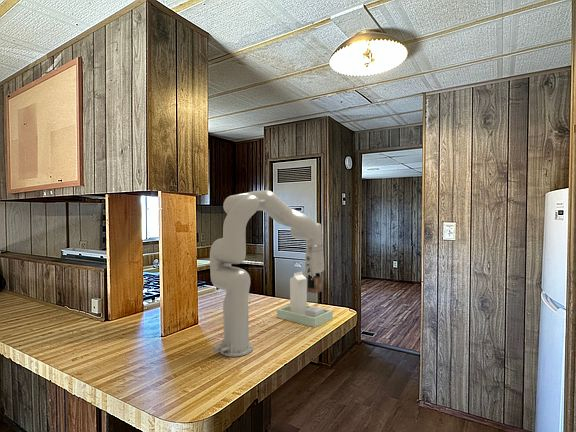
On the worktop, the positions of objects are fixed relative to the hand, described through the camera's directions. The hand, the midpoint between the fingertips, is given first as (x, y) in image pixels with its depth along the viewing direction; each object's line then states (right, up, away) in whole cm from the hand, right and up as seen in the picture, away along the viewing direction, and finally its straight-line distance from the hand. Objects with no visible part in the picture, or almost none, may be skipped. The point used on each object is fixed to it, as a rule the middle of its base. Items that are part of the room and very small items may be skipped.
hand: (314, 286), depth 159 cm
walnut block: (0, -2, 0) cm, 2 cm away
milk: (-7, -17, +8) cm, 20 cm away
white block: (0, -17, 0) cm, 17 cm away
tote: (-5, -17, +5) cm, 18 cm away
